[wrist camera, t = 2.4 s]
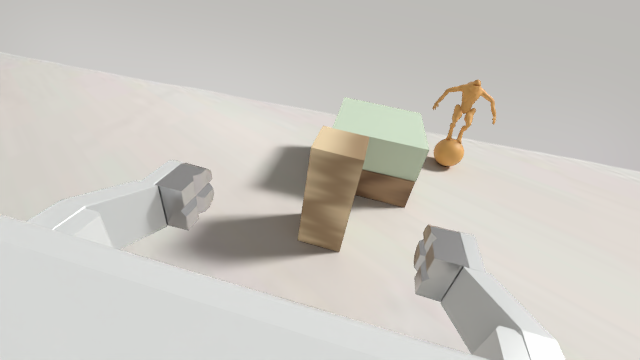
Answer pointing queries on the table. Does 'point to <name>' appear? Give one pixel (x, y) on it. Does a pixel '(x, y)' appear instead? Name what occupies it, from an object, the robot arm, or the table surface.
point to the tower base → (384, 188)
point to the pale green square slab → (386, 137)
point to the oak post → (331, 186)
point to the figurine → (449, 148)
